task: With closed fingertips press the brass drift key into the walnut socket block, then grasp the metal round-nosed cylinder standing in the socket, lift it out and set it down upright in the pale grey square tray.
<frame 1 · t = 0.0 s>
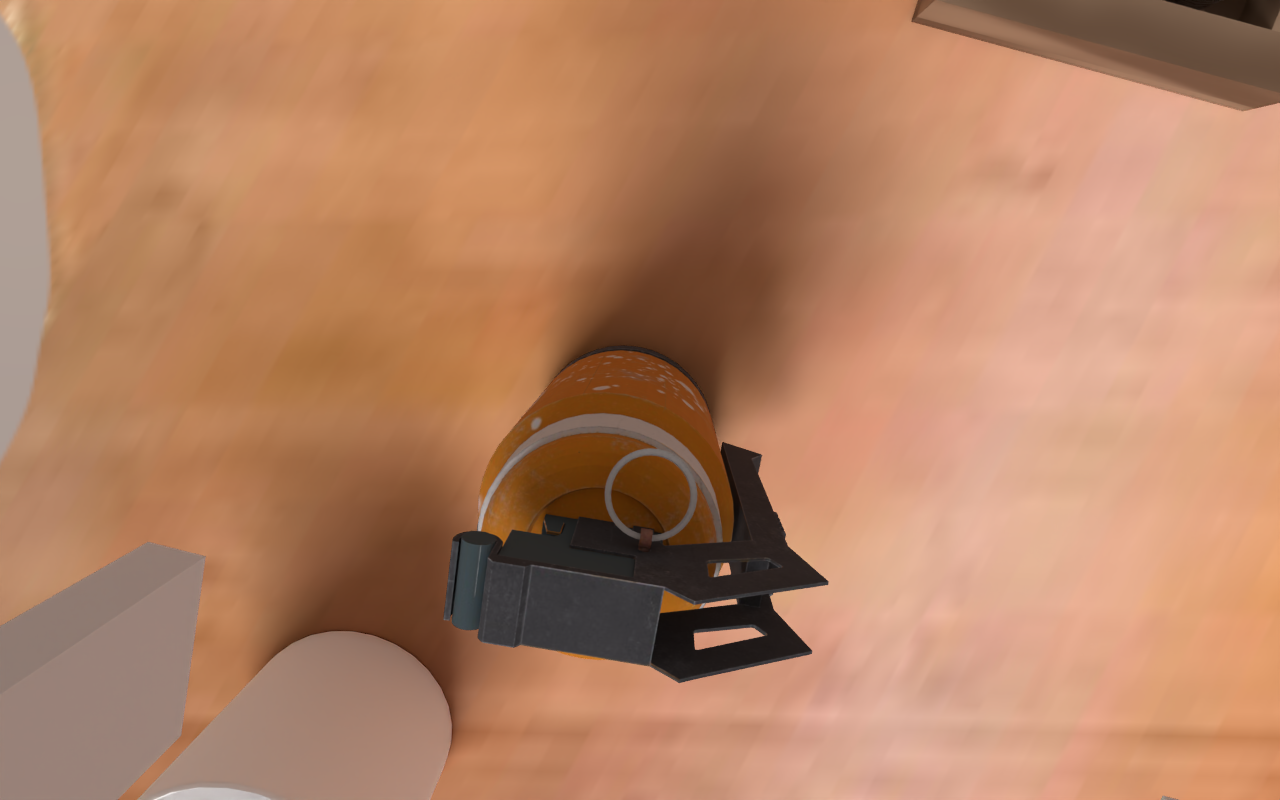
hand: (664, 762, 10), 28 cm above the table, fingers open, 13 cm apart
canister: (644, 431, 38), on the table
cup: (354, 719, 42), on the table
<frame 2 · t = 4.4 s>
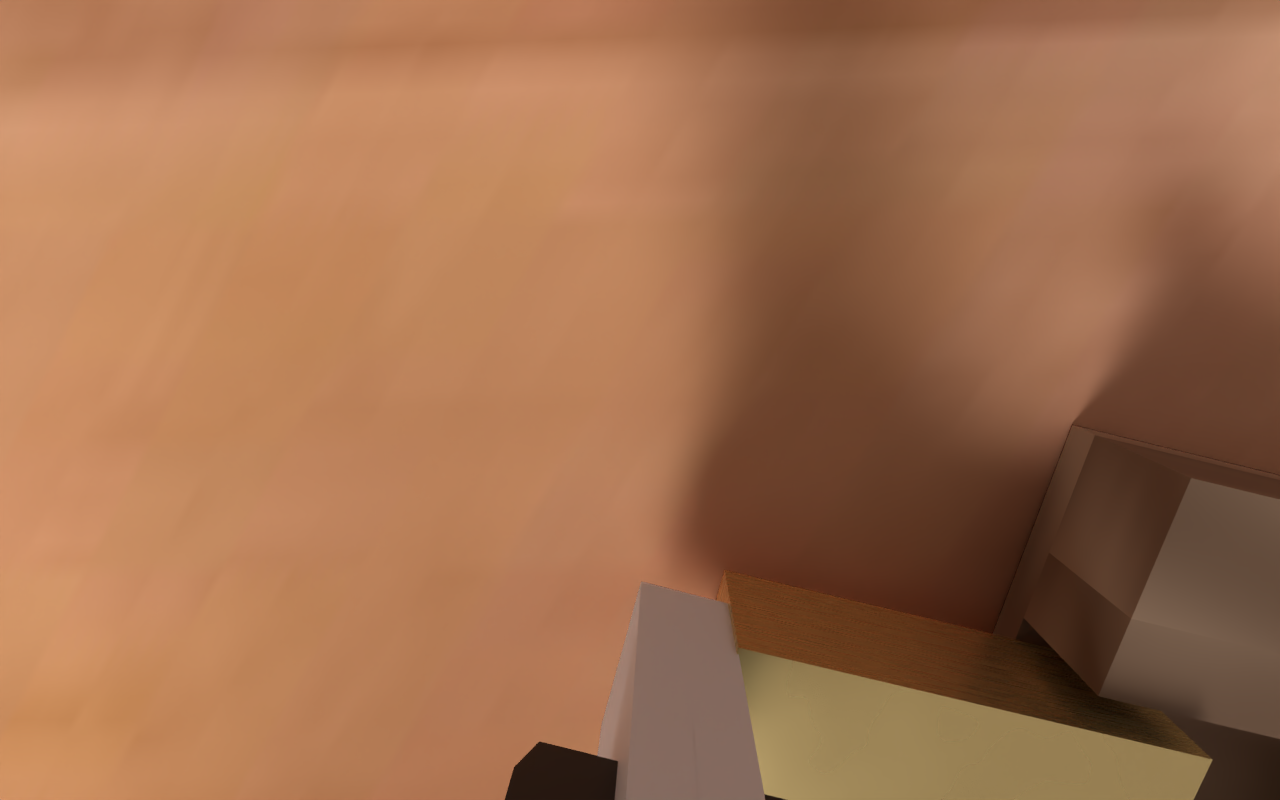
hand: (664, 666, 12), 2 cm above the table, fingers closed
drift key: (920, 719, 12), point 2 cm above the table, slide at 0.0 cm, touching gripper
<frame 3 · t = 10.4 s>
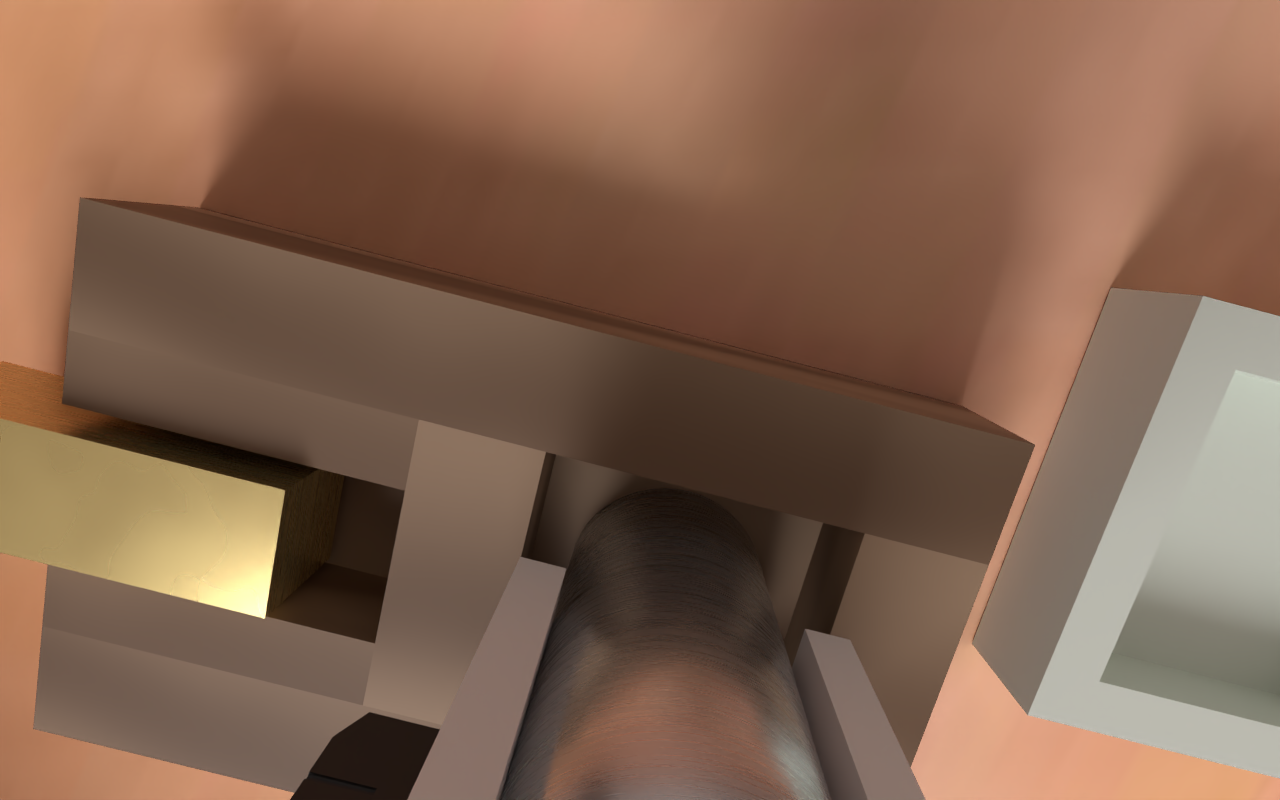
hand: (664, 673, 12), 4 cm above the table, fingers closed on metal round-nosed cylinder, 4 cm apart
socket block: (530, 531, 16), on the table
metal round-nosed cylinder: (664, 579, 15), point 1 cm above the table, touching gripper, socket block
drift key: (125, 481, 13), point 2 cm above the table, slide at 2.7 cm
pale grey square tray: (1197, 516, 15), on the table
when the fingers open (6 cm above the table, at t = 15.6 s): metal round-nosed cylinder drops 1 cm, resting on pale grey square tray.
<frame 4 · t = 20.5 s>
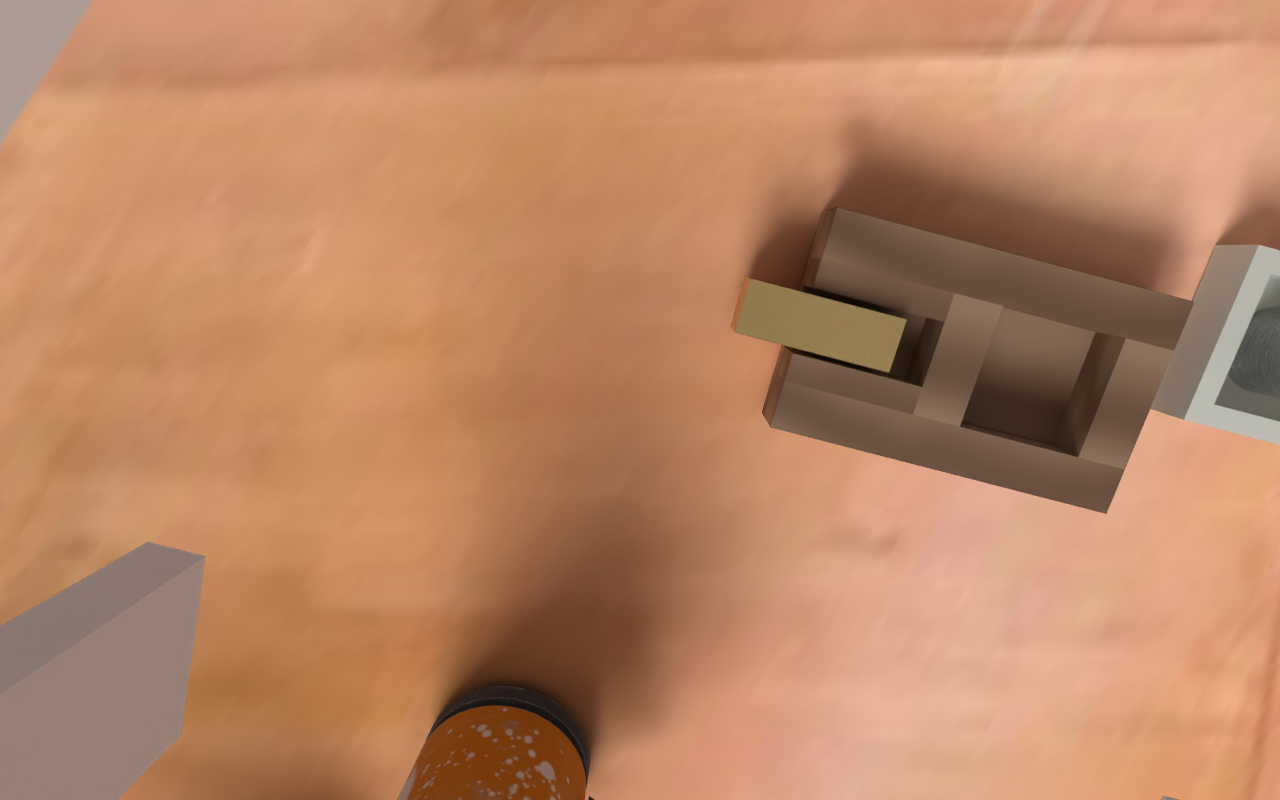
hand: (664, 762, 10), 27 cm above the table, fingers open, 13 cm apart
socket block: (950, 356, 35), on the table
metal round-nosed cylinder: (1268, 350, 34), point 1 cm above the table, touching pale grey square tray
canister: (529, 750, 41), on the table
drift key: (814, 323, 33), point 2 cm above the table, slide at 2.7 cm
pale grey square tray: (1251, 346, 35), on the table
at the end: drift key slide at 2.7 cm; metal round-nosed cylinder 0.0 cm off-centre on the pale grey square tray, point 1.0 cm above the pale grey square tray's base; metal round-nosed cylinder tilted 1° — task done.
